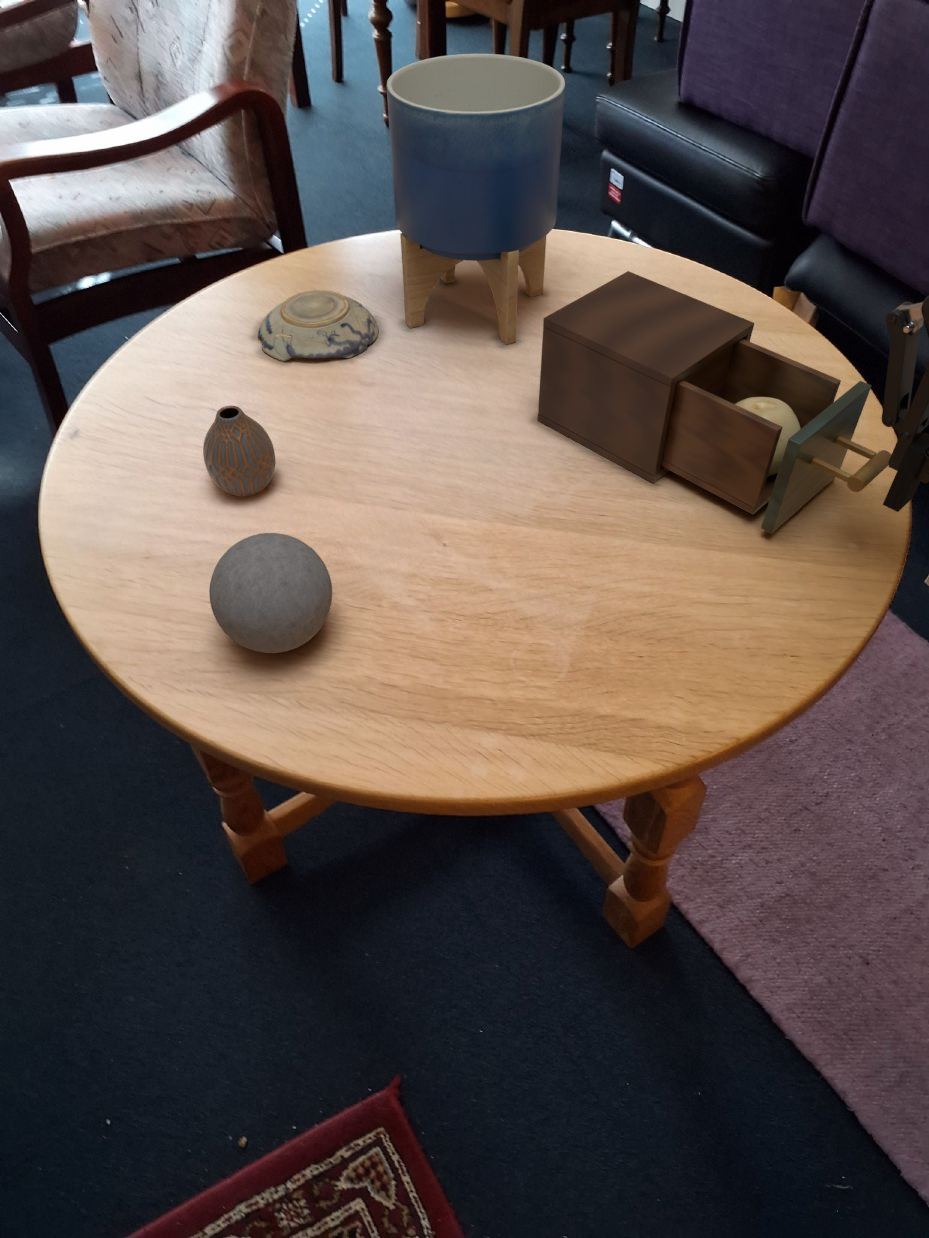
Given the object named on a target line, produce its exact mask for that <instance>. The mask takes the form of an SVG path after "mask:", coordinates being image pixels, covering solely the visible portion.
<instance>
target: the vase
mask: <svg viewBox="0 0 929 1238" xmlns="http://www.w3.org/2000/svg"><path fill="white" fill-rule="evenodd" d="M202 453H203V461H204V465H205V469H206V471H207V474H208V476H209V477H210V479H211V480H212V481H213V482H214V484H215V485H216V486H217V487H218V488H219V489H220V490H222V491H224V492H225V493H227V494H230V495H233V496H236V497H249V496H254V495H256V494H258V493H260V492H261V491H263V490H264V489H265V488H266V487H267V486H268V485H269V483H270V482H271V481H272V479H273V477H274V474H275V469H276V453H275V448H274V445H273V442H272V439H271V437H270V436H269V434H268V432H267V431H266V429H265V428H264V427H263V426H262V424H260V423H258V421H256V420H255V419H253V418H251V417H250V416H248V415H247V414H246V413H245V412H244V411H243V410H242V408H241V407H239V406H237V405H225V406H223V407H221V408H219V409H218V410H217V411H216V414H215V418H214V421H213V422H212V423H211V425H210V427H209V428H208V431H207V432H206V434H205V436H204V440H203V447H202Z"/></svg>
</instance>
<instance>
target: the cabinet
mask: <svg viewBox="0 0 929 1238" xmlns="http://www.w3.org/2000/svg"><path fill="white" fill-rule="evenodd" d="M542 325H543V326H542V341H541V358H540V374H539V375H540V376H539V390H538V407H537V421H538V422H540V423H541V424H543V425H544V426H547V427H549V428H551V429H552V430H554V431H556V432H558V433H560V434H562V435H564V437H567V438H569V439H570V440H572V441H575V442H577V444H580V445H582V446H583V447H585V448H587V449H589V450H591V451H593V452H595V453H596V454H598V455H600V456H602V457H603V458H606V459H608V460H609V461H611V462H613V463H614V464H617V465H618V466H621V467H622V468H623V469H625V470H628V471H629V472H631V473H633V474H635V475H637V476H638V477H641V478H643V479H644V480H646V481H648V482H650V483H652V484H654V483H655V482H657V481H658V480H659V479H661V478H662V477H663V476H665V475H666V474H667V473H669V472H671V471H670V470H668V469H666V468H664V467H662V466H661V461H662V455H663V450H664V445H665V439H666V434H667V429H668V424H669V418H670V413H671V408H672V402H673V397H674V392H675V387H676V383H677V382H678V381H680V380H681V379H683V378H684V377H686V376H687V375H689V374H690V373H692V372H693V371H695V370H696V369H697V368H699V367H700V366H702V365H703V364H705V363H706V362H708V361H709V360H711V359H712V358H714V357H715V356H717V355H718V354H719V353H721V352H722V351H724V350H725V349H727V348H728V347H730V346H731V345H733V344H734V343H736V342H737V341H739V340H740V339H741V338H742V339H745V340H747V341H749V342H751V338H752V334H753V331H754V327H755V322H753V321H751V320H748V319H746V318H743V317H741V316H739V315H736V314H734V313H732V312H729V311H726V310H724V309H722V308H719V307H717V306H714V305H713V304H710V303H707V302H704V301H703V300H700V299H697V298H694V297H692V296H690V295H688V294H685V293H683V292H680V291H678V290H675V289H673V288H670V287H669V286H666V285H663V284H662V283H658V282H656V281H653V280H651V279H649V278H646V277H645V276H642V275H639V274H636V273H634V272H631V271H629V270H627V271H625V272H623V273H622V274H620V275H618V276H617V277H615V278H613V279H611V280H609V281H608V282H606V283H604V284H602V285H601V286H599V287H597V288H595V289H592V291H589V292H587V293H586V294H585V295H583V296H581V297H579V298H577V299H575V300H573V301H572V302H570V303H568V304H566V305H565V306H563V307H561V308H559V309H558V310H555V311H553V312H552V313H550V314H548V315H546V316H545V317H543V322H542Z"/></svg>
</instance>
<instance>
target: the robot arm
mask: <svg viewBox="0 0 929 1238" xmlns="http://www.w3.org/2000/svg"><path fill="white" fill-rule="evenodd" d="M885 324H886V328H887V332H888V333H887V334H888V336H889V341H890V345H889V353H888V360H887V361H888V362H887V369H886V377H885V378H886V379H885V387H884V393H883V394H884V395H883V402H882V403H883V404H882V412H881V424H882V425H884V427H886V428H892V429H893V430H895V431H896V433H897V436H898V437H897V441H896V443H895V444H894V448H893V451H892V452H891V457H890V459H889V465H888V468H890V469H892V470H895V471H896V473H895V475H894V478H893V480H892V481H891V485H890V486H889V489H888V492H887V494H886V496H885V498H884V499H883V503H882V506H884V507H886V508H888V509H890V510H892V511H894V512H897V513H899V512H900V511H901V510H902V509H903V508H904V507H905V506H907V504H908V503H909V502H910V501H911V500H913V498H914V496H915V495H916V492H917V489H918V487H919V485H920V483H923V484H925V485H927V484H928V483H929V433H927V432H924V431H923V430H924V429H926V428H927V427H928V426H929V359H928V360H927V362H926V364H925V371H924V373H923V376H922V378H921V380H920V382H919V385H918V387H917V390H916V392H915V395H914V397H913V399H912V391H913V385H914V377H915V369H916V363H917V355H918V348H919V340H920V329H921V328H922V327H923V326H924V327H925V331H926V333H927V337H928V339H929V295H927V296H926V297H925V298H924V300H923V301H921V302H917V303H913V302H911V301H904V302H902V303H901V304H899V305H898V306H897V307H895V308H894V309H893V310H892V311H890V312H889V313H888V314H887V315H886V316H885ZM911 400H912V402H911Z"/></svg>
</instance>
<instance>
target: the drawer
mask: <svg viewBox="0 0 929 1238" xmlns="http://www.w3.org/2000/svg"><path fill="white" fill-rule="evenodd" d="M841 382H842V380H841V379H839V378H837V377H835V376H832V375H830V374H827V373H825V372H823V371H820V370H817V369H815V368H813V367H811V366H808V365H806V364H803V363H801V362H799V361H796V360H794V359H792V358H790V357H787V356H784V355H783V354H780V353H777V352H775V351H773V350H770V349H768V348H766V347H764V346H761V345H758V344H757V343H754V342H751V341H750V342H749V341H747V340H745V339H742V338H741V339H740V340H739V341H737V342H736V343H734V344H733V345H731V346H730V347H728V348H727V349H725V350H724V351H722V352H721V353H719V354H718V355H717V356H715V357H714V358H712V359H711V360H709V361H708V362H706V363H705V364H703V365H702V366H700V367H699V368H697V369H696V370H695V371H693V372H692V373H690V374H689V375H687V376H686V377H684V378H683V379H681V380H680V381H678V382H677V383H676V387H675V392H674V397H673V402H672V408H671V413H670V418H669V424H668V429H667V434H666V439H665V445H664V450H663V455H662V461H661V466H662V467H664V468H666V469H668V470H670V471H669V472H671V473H673V474H676V475H677V476H679V477H681V478H683V479H685V480H687V481H688V482H691V483H692V484H694V485H696V486H699V487H700V488H701V489H704V490H705V491H708V492H710V493H711V494H713V495H715V496H717V497H718V498H721V499H722V500H724V501H727V502H729V503H730V504H732V505H733V506H736V507H738V508H740V509H741V510H743V511H744V512H745V511H746V512H747V513H749V514H751V515H755V514H756V513H757V512H758V511H759V510H760V509H761V508H763V507H764V506H765V505H767V507H766V510H765V513H764V516H763V520H762V523H761V527H760V530H763V531H765V532H767V533H768V534H773V533H775V532H776V531H777V530H778V529H779V528H780V527H781V526H782V525H783V524H784V523H785V522H786V521H788V520H789V519H790V518H792V516H793V515H794V514H795V513H797V512H798V511H799V510H800V509H801V508H802V507H804V505H806V504H807V503H808V502H809V501H810V500H811V499H812V498H814V497H815V496H816V495H817V494H818V493H819V492H820V491H821V490H823V489H824V488H825V487H827V485H828V484H829V483H831V482H832V480H833V479H835V478H837V479H839V480H841V481H843V482H845V483H846V486H847V488H848V489H849V491H851V492H853V493H860V492H862V491H863V490H864V489H865V488H866V487H867V486H868V485H869V484H870V483H871V482H872V481H874V480H875V479H876V478H877V477H878V476H879V475H880V474H881V473H882V472H883V471H884V470H885V469H886V468H887V467H889V459H890V457H891V455H892V453H891V452H889V451H888V450H886V449H885V450H884V449H882V450H879V451H878V452H876V451H874V450H872V449H869V448H868V447H865V446H863V445H862V444H859V443H857V442H855V441H852V439H853V436H854V434H855V431H856V429H857V426H858V424H859V421H860V418H861V416H862V412H863V411H864V408H865V404H866V403H867V400H868V397H869V394H870V391H871V388H872V384H869V383H867V382H864V381H862V380H859V381H858V382H856V383H855V384H854V385H853V386H851V388H850V389H848V390H847V391H846V392H844V393H843V394H842V395H841V396H839V397H838V398H837V399H836V397H837V394H838V390H839V389H840V386H841ZM752 397H770V398H775V399H778V400H781V401H783V402H784V403H786V404H787V405H788V406H789V407H790V408H791V409H792V410H793V412H794V414H795V415H796V417H797V419H798V422H799V425H800V430H799V431H798V432H797V433H795V434H794V435H793V436H792V437H790V438H789V439H788V443H787V446H786V449H785V452H784V455H783V459H782V462H781V465H780V468H779V471H778V473H776V474H774V475H771V476H768V474H769V470H770V467H771V464H772V461H773V457H774V454H775V451H776V447H777V444H778V441H779V437H780V434H781V431H782V428H783V427H782V426H780V425H778V424H776V423H773V422H771V421H769V420H767V419H765V418H763V417H761V416H758V415H756V414H754V413H752V412H750V411H748V410H746V409H743V408H741V407H739V406H737V405H735V404H736V403H737V402H739V401H742V400H744V399H747V398H752ZM835 399H836V400H835ZM848 450H849V451H851V452H852V453H855V454H857V455H859V456H862V457H864V458H866V459H868V461H867V462H866V463H865V464H863V465H862V466H861V467H860V468H859V469H858V470H857V471H856V472H855V473H854V474H852V473H850V472H847V471H845V470H843V469H842V466H843V463H844V461H845V459H846V455H847V452H848ZM767 503H768V504H767Z"/></svg>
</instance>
